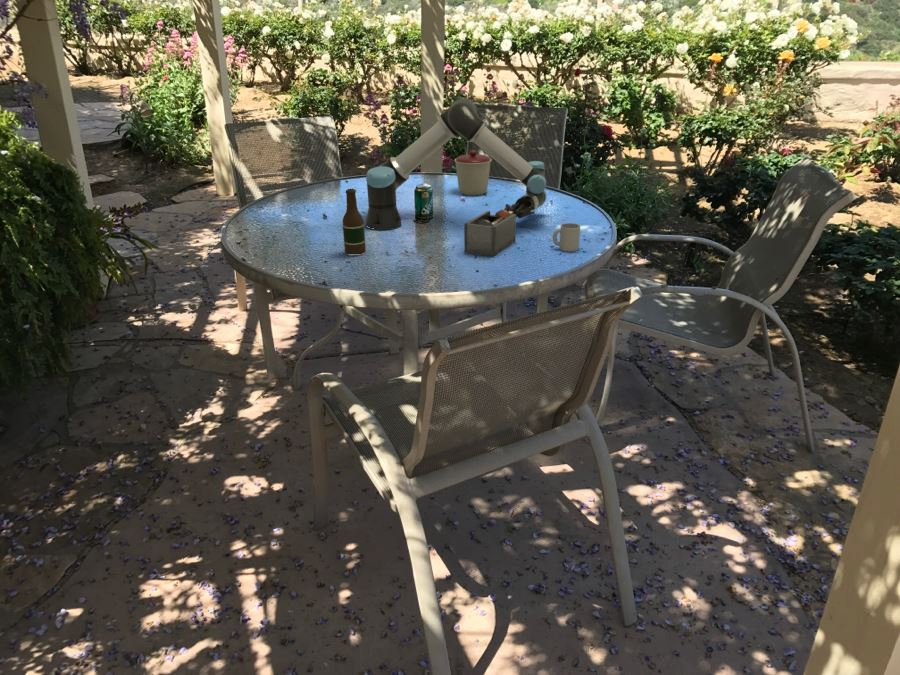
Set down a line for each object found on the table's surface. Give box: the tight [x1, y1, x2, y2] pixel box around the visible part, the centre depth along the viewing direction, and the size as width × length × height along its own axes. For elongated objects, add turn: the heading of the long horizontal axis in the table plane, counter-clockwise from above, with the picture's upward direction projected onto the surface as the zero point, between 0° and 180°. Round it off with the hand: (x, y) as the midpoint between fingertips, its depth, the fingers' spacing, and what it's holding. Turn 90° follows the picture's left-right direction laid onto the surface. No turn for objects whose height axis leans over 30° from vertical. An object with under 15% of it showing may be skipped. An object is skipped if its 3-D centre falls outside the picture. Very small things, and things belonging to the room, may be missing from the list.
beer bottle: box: [342, 188, 367, 255], centre depth 258 cm, size 8×8×24 cm
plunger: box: [476, 209, 511, 226], centre depth 266 cm, size 18×8×8 cm, turn 152°
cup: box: [552, 222, 581, 253], centre depth 262 cm, size 7×10×9 cm
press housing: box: [463, 210, 517, 258], centre depth 265 cm, size 20×12×11 cm, turn 152°
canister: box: [453, 149, 493, 197], centre depth 340 cm, size 18×18×21 cm
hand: (504, 218), depth 273 cm, fingers closed
